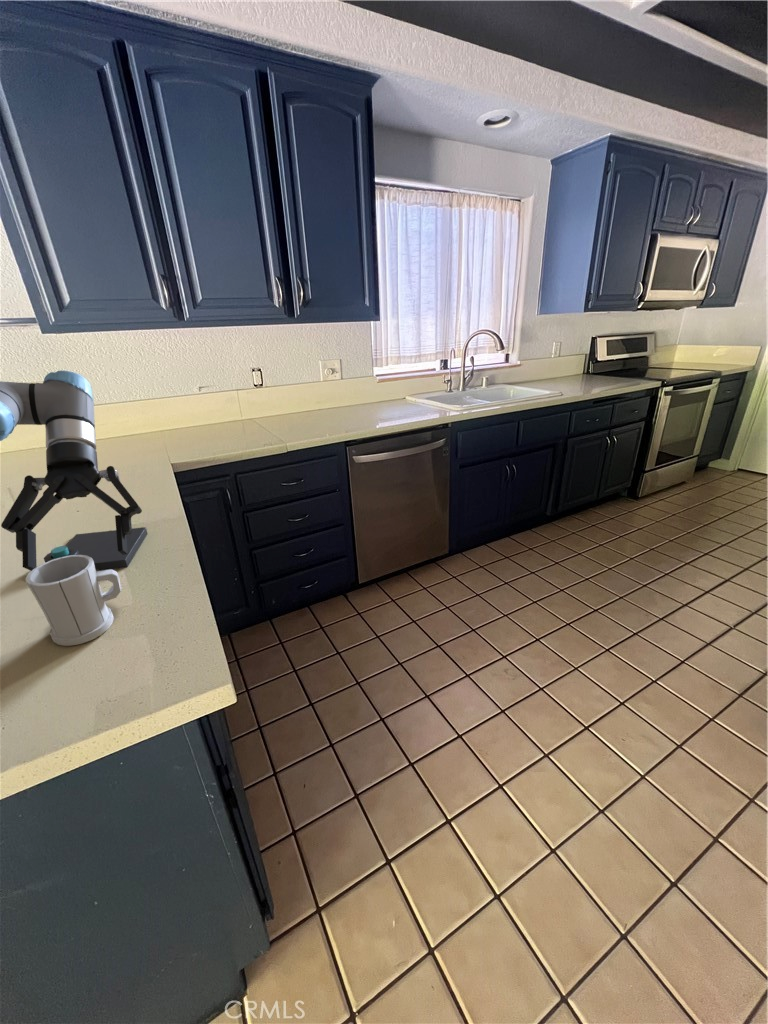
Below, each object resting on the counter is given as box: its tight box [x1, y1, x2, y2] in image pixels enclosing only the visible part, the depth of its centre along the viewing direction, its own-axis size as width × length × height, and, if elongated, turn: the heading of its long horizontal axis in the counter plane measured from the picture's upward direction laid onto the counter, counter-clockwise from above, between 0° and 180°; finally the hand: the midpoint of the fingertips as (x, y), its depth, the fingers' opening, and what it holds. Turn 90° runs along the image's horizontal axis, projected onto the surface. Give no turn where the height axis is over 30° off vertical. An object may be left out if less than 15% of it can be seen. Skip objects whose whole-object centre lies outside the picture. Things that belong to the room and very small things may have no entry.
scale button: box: [50, 545, 69, 559], centre depth 87 cm, size 3×3×2 cm
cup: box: [25, 555, 122, 647], centre depth 70 cm, size 10×9×12 cm
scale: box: [43, 526, 149, 571], centre depth 93 cm, size 15×15×4 cm
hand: (77, 560), depth 72 cm, fingers open, 13 cm apart
